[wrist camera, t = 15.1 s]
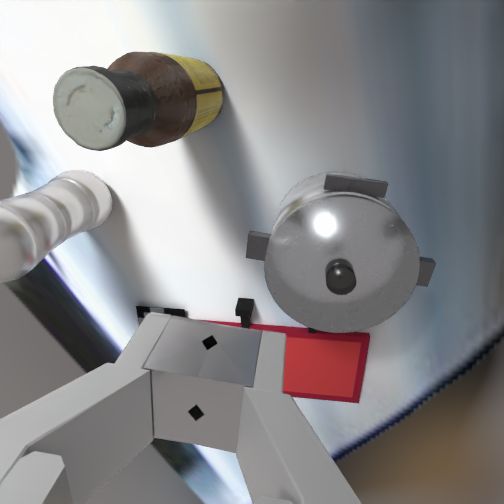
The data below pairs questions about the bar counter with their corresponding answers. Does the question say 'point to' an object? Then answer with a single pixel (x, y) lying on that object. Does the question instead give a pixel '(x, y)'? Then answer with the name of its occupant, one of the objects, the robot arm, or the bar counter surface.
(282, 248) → the lid
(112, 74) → the sauce bottle
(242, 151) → the bar counter surface
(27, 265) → the plastic bottle
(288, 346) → the red board with handle
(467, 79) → the bar counter surface
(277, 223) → the pot
